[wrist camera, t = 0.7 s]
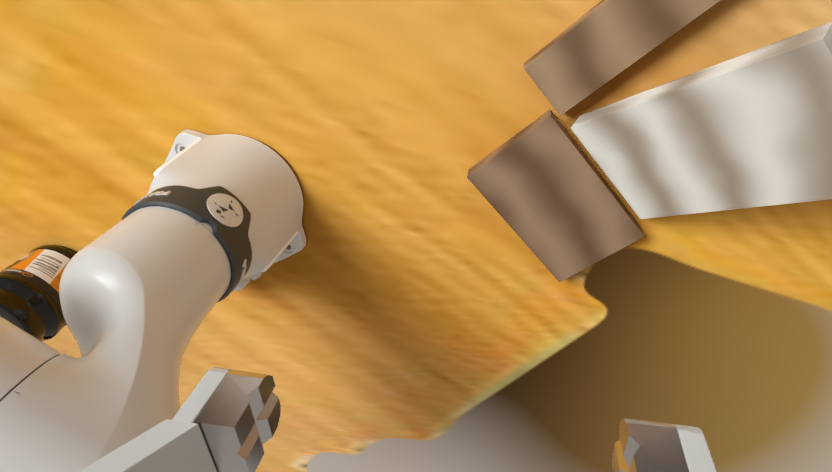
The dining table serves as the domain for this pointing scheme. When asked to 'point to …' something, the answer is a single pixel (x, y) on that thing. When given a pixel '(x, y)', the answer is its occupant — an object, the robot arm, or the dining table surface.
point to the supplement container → (35, 291)
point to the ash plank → (724, 133)
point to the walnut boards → (556, 150)
